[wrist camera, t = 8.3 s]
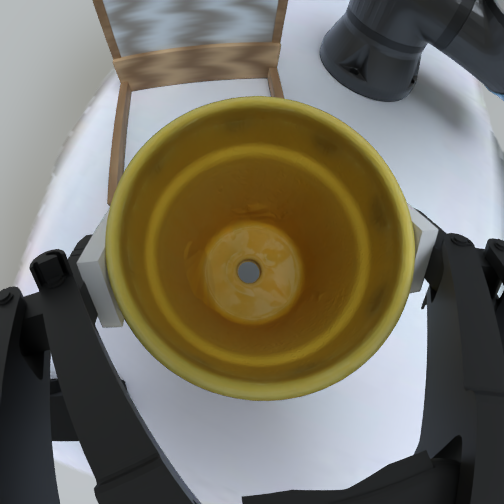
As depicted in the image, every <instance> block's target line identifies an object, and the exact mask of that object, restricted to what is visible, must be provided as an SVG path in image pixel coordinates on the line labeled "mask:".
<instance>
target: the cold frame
mask: <svg viewBox="0 0 504 504" xmlns="http://www.w3.org/2000/svg"><path fill="white" fill-rule="evenodd" d="M93 3H94V6H95V9H96V12H97V15H98V18H99V21H100V24H101V26H102V29H103V32H104V35H105V38H106V41H107V43H108V46H109V49H110V51H111V54H112V57H113V65H114V67H115V70H116V72H117V75H118V78H119V80H120V83H121V85H120V90H119V96H118V102H117V109H116V116H115V123H114V131H113V139H112V148H111V158H110V169H109V183H108V200H107V204H108V205H109V206H110V205H111V202H112V199H113V196H114V193H115V190H116V188H117V186H118V183H119V181H120V179H121V177H122V175H123V173H124V158H125V145H126V134H127V124H128V115H129V107H130V99H131V92H132V91H136V90H142V89H148V88H154V87H161V86H168V85H175V84H183V83H192V82H202V81H213V80H227V79H247V78H268V83H269V87H270V92H271V97H277V98H283V99H284V95H283V91H282V87H281V83H280V79H279V74H278V70H277V64H278V59H279V54H280V49H281V44H280V41H281V36H282V30H283V25H284V20H285V14H286V9H287V4H288V0H93Z"/></svg>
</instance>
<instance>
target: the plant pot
mask: <svg viewBox="0 0 504 504" xmlns="http://www.w3.org/2000/svg"><path fill="white" fill-rule="evenodd" d="M105 254H106V265H107V271H108V276H109V280H110V285H111V288H112V291H113V294H114V297H115V299H116V302H117V304H118V307H119V309H120V311H121V313H122V315H123V317H124V319H125V321H126V322H127V324H128V326H129V327H130V329H131V330H132V332H133V333H134V335H135V336H136V337H137V339H138V340H139V341H140V342H141V344H142V345H143V346H144V347H145V348H146V350H147V351H148V352H149V353H150V354H151V355H152V356H153V357H154V358H155V359H157V360H158V361H159V362H160V363H161V364H163V365H164V366H165V367H166V368H167V369H169V370H170V371H172V372H173V373H175V374H176V375H178V376H179V377H181V378H183V379H184V380H186V381H188V382H190V383H192V384H194V385H196V386H198V387H200V388H202V389H205V390H208V391H210V392H213V393H217V394H220V395H223V396H227V397H232V398H237V399H244V400H252V401H273V400H284V399H291V398H296V397H301V396H305V395H308V394H311V393H314V392H317V391H320V390H322V389H325V388H327V387H329V386H331V385H333V384H335V383H337V382H339V381H341V380H343V379H344V378H346V377H347V376H349V375H350V374H352V373H353V372H354V371H356V370H357V369H358V368H360V367H361V366H362V365H363V364H364V363H366V362H367V361H368V360H369V359H370V358H371V357H372V356H373V355H374V354H375V353H376V352H377V351H378V349H379V348H380V347H381V346H382V345H383V343H384V342H385V341H386V339H387V338H388V337H389V335H390V334H391V332H392V331H393V329H394V327H395V326H396V324H397V322H398V320H399V318H400V316H401V314H402V312H403V310H404V307H405V305H406V302H407V299H408V296H409V293H410V289H411V285H412V281H413V274H414V266H415V239H414V231H413V225H412V219H411V216H410V212H409V209H408V205H407V202H406V200H405V197H404V195H403V193H402V190H401V188H400V186H399V184H398V182H397V180H396V178H395V177H394V175H393V173H392V172H391V170H390V169H389V167H388V165H387V164H386V163H385V161H384V160H383V159H382V157H381V156H380V155H379V154H378V152H377V151H376V150H375V149H374V148H373V147H372V146H371V145H370V144H369V143H368V142H367V141H366V140H365V139H364V138H363V137H362V136H361V135H359V134H358V133H357V132H356V131H355V130H353V129H352V128H351V127H349V126H348V125H347V124H345V123H344V122H342V121H340V120H339V119H337V118H335V117H334V116H332V115H330V114H328V113H326V112H324V111H322V110H319V109H317V108H315V107H312V106H309V105H306V104H303V103H300V102H297V101H293V100H288V99H283V98H277V97H266V96H250V97H238V98H231V99H226V100H222V101H218V102H214V103H210V104H207V105H204V106H201V107H199V108H196V109H194V110H192V111H190V112H188V113H186V114H184V115H182V116H180V117H178V118H176V119H175V120H173V121H172V122H170V123H169V124H167V125H166V126H165V127H163V128H162V129H161V130H159V131H158V132H157V133H156V134H155V135H154V136H153V137H151V138H150V139H149V140H148V141H147V142H146V143H145V144H144V145H143V147H142V148H141V149H140V150H139V151H138V152H137V154H136V155H135V156H134V158H133V159H132V160H131V162H130V163H129V165H128V166H127V168H126V170H125V171H124V173H123V175H122V177H121V179H120V181H119V183H118V186H117V188H116V190H115V193H114V196H113V199H112V202H111V205H110V209H109V213H108V219H107V225H106V235H105ZM244 262H252V263H254V264H256V265H257V267H258V269H259V277H258V279H257V280H256V281H255V282H253V283H246V282H244V281H242V280H241V279H240V277H239V275H238V269H239V266H240V265H241V264H242V263H244Z"/></svg>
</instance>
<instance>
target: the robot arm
mask: <svg viewBox="0 0 504 504" xmlns="http://www.w3.org/2000/svg"><path fill="white" fill-rule="evenodd" d="M428 43H429V44H431V45H433V46H434V47H436V48H437V49H439V50H440V51H441V52H443V53H444V54H446V55H447V56H448V57H450V58H451V59H452V60H454V61H455V62H456V63H458V64H459V65H460V66H462V67H463V68H464V69H466V70H467V71H468V72H469V73H471V74H472V75H473V76H474V77H476V78H477V79H478V80H479V81H480V82H482V83H483V84H484V85H485V87H486V88H487V89H488V90H489V91H490V92H492V93H493V94H495V95H497V96H498V97H499V98H501V99H502V100H503V101H504V0H350V2H349V5H348V8H347V10H346V13H345V14H344V15H343V16H342V17H341V18H340V19H339V20H338V21H337V23H336V24H335V25H334V26H333V27H332V28H331V29H330V30H329V31H328V32H327V34H326V35H325V37H324V39H323V42H322V45H321V48H320V56H321V60H322V62H323V64H324V66H325V67H326V69H327V70H328V71H329V72H330V73H331V74H332V76H334V77H335V78H336V79H337V80H338V81H339V82H341V83H342V84H343V85H345V86H346V87H348V88H349V89H351V90H353V91H355V92H357V93H359V94H361V95H363V96H366V97H369V98H372V99H376V100H380V101H397V100H401V99H403V98H405V97H406V96H407V95H408V94H409V92H410V91H411V90H412V88H413V87H414V85H415V83H416V80H417V74H418V70H419V65H420V59H421V54H422V51H423V50H424V48H425V47H426V45H427V44H428ZM407 205H408V209H409V212H410V216H411V219H412V225H413V231H414V239H415V266H414V274H413V281H412V285H411V289H410V293H414V292H419V291H420V290H421V287H422V284H423V281H424V278H425V279H426V281H427V282H428V283H429V287H428V290H427V293H426V296H425V298H424V301H423V304H422V307H421V309H424V307H425V305H427V371H426V387H425V400H424V410H423V419H422V428H421V435H420V441H419V444H418V447H417V449H416V451H415V453H414V455H412V456H410V457H407V458H405V459H402V460H400V461H397V462H394V463H391V464H389V465H387V466H385V467H384V468H382V469H381V470H379V471H377V472H376V473H374V474H373V475H371V476H369V477H368V478H366V479H364V480H362V481H361V482H359V483H357V484H356V485H354V486H352V487H350V488H348V489H344V490H288V491H282V492H276V493H269V494H262V495H253V496H244V497H242V503H243V504H504V291H503V293H502V295H501V297H500V298H499V297H498V295H497V293H498V291H499V288H500V286H501V284H502V283H503V285H504V241H503V240H500V239H489V240H488V241H487V244H486V247H485V249H479V248H475V246H474V244H473V243H472V242H471V240H469V239H468V238H466V237H464V236H462V235H459V234H455V233H449V234H446V233H445V232H444V231H443V230H442V229H441V228H440V227H438V226H437V225H436V224H435V223H433V221H431V220H430V219H429V218H427V216H426V215H424V214H423V213H422V212H421V211H419V210H417V209H415V208H413V207H412V206H410V205H409V204H408V203H407ZM109 209H110V208H109ZM109 209H108V211H107V213H106V214H105V216H104V217H103V219H102V221H101V222H100V224H99V225H98V227H97V229H96V230H95V232H94V234H93V235H86V236H85V237H84V238H83V239H81V240H80V241H79V242H78V243H77V245H76V247H75V248H74V251H72V253H71V255H70V257H69V258H68V260H67V257H66V254H65V252H64V251H63V250H60V249H55V250H50V251H47V252H44V253H43V254H41V255H39V256H38V257H36V258H35V259H34V260H33V261H32V263H31V264H30V271H31V273H32V275H33V278H34V280H35V282H36V284H37V286H38V289H39V292H37V293H34V294H31V295H28V296H25V297H23V295H22V293H21V291H20V289H19V288H18V287H9V288H6V289H3V290H1V291H0V504H60V500H59V495H58V489H57V482H56V475H55V468H54V459H53V449H52V437H51V420H50V359H51V355H52V359H53V363H54V366H55V370H56V374H57V377H58V381H59V384H60V388H61V391H62V394H63V397H64V400H65V403H66V406H67V409H68V412H69V415H70V418H71V421H72V423H73V426H74V429H75V431H76V434H77V437H78V439H79V442H80V444H81V447H82V449H83V451H84V454H85V456H86V458H87V461H88V463H89V465H90V467H91V469H92V472H93V474H94V476H95V478H96V482H97V485H96V487H95V488H94V491H95V496H96V499H97V501H98V503H99V504H201V503H200V501H199V500H198V499H197V498H196V497H195V495H194V494H193V493H192V492H191V490H190V489H189V488H188V487H187V485H186V484H185V483H184V481H183V480H182V478H181V477H180V476H179V474H178V473H177V471H176V470H175V469H174V467H173V466H172V464H171V463H170V461H169V460H168V458H167V457H166V456H165V454H164V453H163V451H162V449H161V448H160V446H159V445H158V443H157V442H156V440H155V439H154V437H153V435H152V434H151V432H150V431H149V429H148V427H147V426H146V424H145V422H144V421H143V419H142V417H141V416H140V414H139V412H138V410H137V409H136V407H135V405H134V403H133V402H132V400H131V398H130V396H129V394H128V392H127V391H126V389H125V387H124V385H123V383H122V381H121V379H120V377H119V375H118V373H117V371H116V369H115V367H114V365H113V363H112V361H111V359H110V357H109V355H108V353H107V351H106V348H105V346H104V344H103V342H102V340H101V337H100V335H99V333H98V331H97V329H96V327H95V322H96V319H97V316H98V318H99V320H100V322H101V325H102V327H103V328H108V327H122V326H123V322H124V317H123V315H122V313H121V311H120V309H119V307H118V304H117V302H116V299H115V297H114V294H113V291H112V288H111V285H110V280H109V276H108V271H107V265H106V254H105V235H106V225H107V219H108V213H109Z"/></svg>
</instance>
